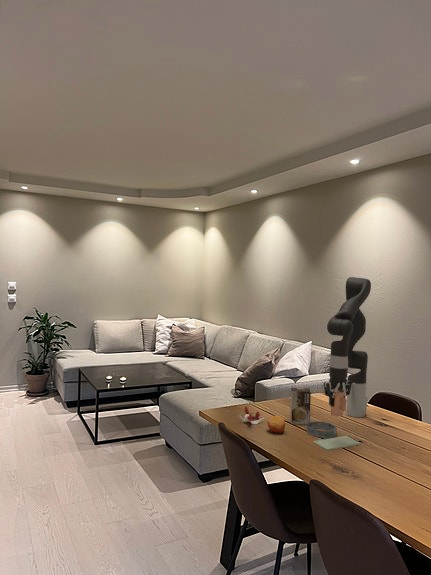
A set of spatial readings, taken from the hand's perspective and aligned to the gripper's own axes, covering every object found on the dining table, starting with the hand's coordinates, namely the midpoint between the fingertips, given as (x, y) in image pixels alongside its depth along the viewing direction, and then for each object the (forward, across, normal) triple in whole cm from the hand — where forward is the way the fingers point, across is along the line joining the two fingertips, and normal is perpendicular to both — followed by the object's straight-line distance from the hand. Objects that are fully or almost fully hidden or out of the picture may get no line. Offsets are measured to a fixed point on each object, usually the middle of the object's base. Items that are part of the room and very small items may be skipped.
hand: (337, 405), depth 184 cm
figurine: (+16, -22, +34) cm, 44 cm away
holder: (+16, +2, +12) cm, 20 cm away
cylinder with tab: (+4, 0, -1) cm, 4 cm away
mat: (+16, 0, -1) cm, 16 cm away
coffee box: (+16, +1, +27) cm, 32 cm away
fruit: (+16, -17, +20) cm, 31 cm away
